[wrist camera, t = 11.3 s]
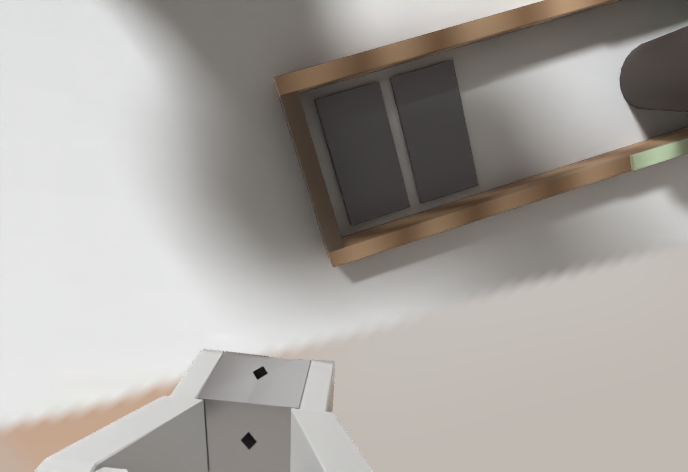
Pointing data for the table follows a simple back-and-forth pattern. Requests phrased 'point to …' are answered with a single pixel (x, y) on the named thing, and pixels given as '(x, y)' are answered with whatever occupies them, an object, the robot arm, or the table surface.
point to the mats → (378, 146)
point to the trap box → (475, 207)
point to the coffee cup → (658, 73)
